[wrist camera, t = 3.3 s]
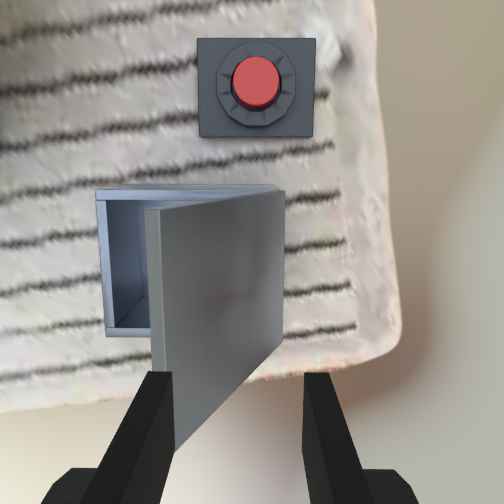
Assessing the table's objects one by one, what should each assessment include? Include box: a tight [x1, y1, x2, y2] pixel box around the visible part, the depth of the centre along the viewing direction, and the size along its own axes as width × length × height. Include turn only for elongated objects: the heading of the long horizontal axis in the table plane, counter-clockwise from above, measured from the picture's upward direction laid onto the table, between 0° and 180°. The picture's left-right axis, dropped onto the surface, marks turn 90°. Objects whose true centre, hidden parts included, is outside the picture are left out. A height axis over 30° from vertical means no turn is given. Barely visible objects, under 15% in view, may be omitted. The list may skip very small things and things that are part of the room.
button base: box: [197, 38, 316, 138], centre depth 35 cm, size 10×8×4 cm
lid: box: [144, 190, 285, 453], centre depth 25 cm, size 14×12×1 cm
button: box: [233, 56, 279, 108], centre depth 33 cm, size 4×4×2 cm
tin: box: [95, 184, 279, 337], centre depth 36 cm, size 14×12×9 cm
